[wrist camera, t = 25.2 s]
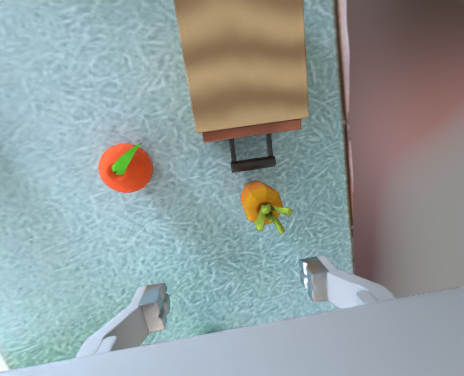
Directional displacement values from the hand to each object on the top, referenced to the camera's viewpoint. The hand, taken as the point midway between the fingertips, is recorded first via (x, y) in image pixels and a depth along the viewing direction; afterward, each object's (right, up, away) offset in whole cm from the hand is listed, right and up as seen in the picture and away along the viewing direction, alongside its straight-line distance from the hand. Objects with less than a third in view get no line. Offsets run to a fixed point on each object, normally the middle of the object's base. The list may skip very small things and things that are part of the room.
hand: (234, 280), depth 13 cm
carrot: (+3, +6, +23) cm, 24 cm away
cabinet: (+1, +22, +19) cm, 29 cm away
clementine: (-15, +10, +21) cm, 28 cm away
